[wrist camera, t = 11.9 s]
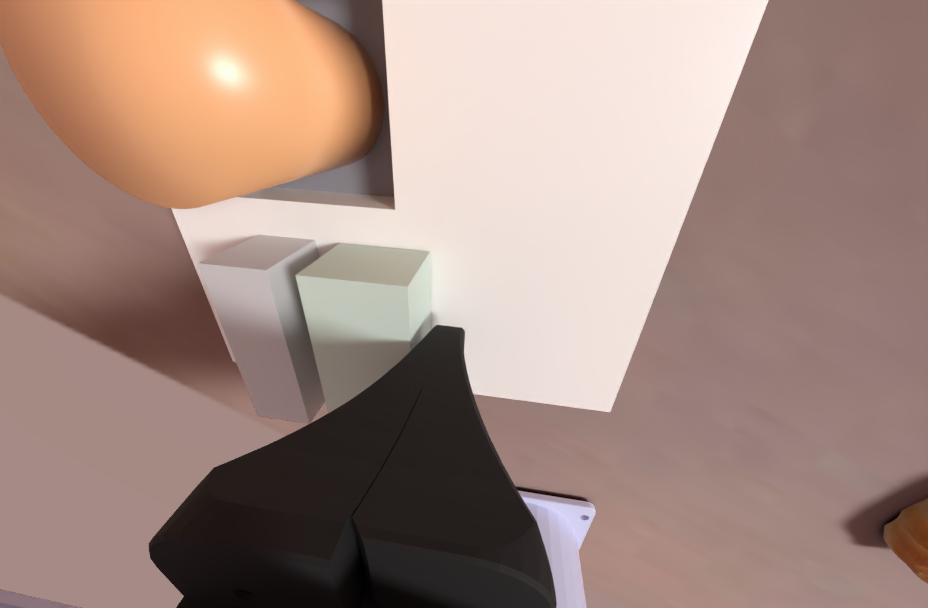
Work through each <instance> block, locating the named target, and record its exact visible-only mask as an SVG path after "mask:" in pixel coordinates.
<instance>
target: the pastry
mask: <svg viewBox="0 0 928 608" xmlns="http://www.w3.org/2000/svg"><path fill="white" fill-rule="evenodd" d="M883 538H884V540H885V542H886V544H887V545H888V546H889V547H890V548H891V549H892V551H893V552H894V553H895V554H896V555H897V556H898V557H899V558H900V559H901V560H902V561H904V562H905V563H906V564H907V565H908V567H909V568H910V569H911V570H912V571H913V572H914V573H915V574H916V575H917V576H918V577H919V578H920V579H922V580H923V581H925V582H926V583H928V498H926V499H924V500H922V501H919V502H917V503H915V504H913V505H911V506H909V507H907V508H905V509H904V510H902V511H901V512H900V515H899V516H898V517H897V518H896V519H895V520H894V521H892V522H890V523H888V524H886V525H885V526H884V535H883Z"/></svg>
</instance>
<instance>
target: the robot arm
mask: <svg viewBox="0 0 928 608" xmlns="http://www.w3.org/2000/svg"><path fill="white" fill-rule="evenodd" d="M464 343H465V330H464V329H463V328H461V327H452V326H444V325H436V326H435V327H433V328H432V329H431V331H430V332H429V333H428V334H427V335H426V336H425V337H424V338H423V339H422V340H421V341H420V342H419V343H418V344H417V345H416V346H415V347H414V348H413V349H412V350H411V351H410V352H409V353H408V354H407V355H406V356H405V357H404V358H403V359H402V360H401V361H400V362H398V363H397V364H396V365H395V366H394V367H393V368H391V369H390V370H389V371H388V372H387V373H385V374H384V375H383V376H382V377H381V378H380V379H378V380H377V381H376V382H374V383H373V384H372V385H371V386H369V387H368V388H366V389H365V390H364V391H362V392H361V393H359V394H358V395H357V396H355V397H354V398H352V399H351V400H349V401H348V402H346V403H345V404H343V405H341V406H340V407H338V408H336V409H335V410H333V411H331V412H330V413H328V414H326V415H325V416H323V417H321V418H320V419H318V420H316V421H314V422H312V423H311V424H309V425H307V426H305V427H303V428H301V429H299V430H297V431H295V432H293V433H291V434H289V435H287V436H285V437H283V438H281V439H279V440H277V441H275V442H273V443H271V444H269V445H267V446H264V447H262V448H260V449H257V450H255V451H253V452H250V453H248V454H246V455H243V456H241V457H239V458H236V459H234V460H232V461H229V462H227V463H225V464H222V465H220V466H217V467H215V468H213V470H212V471H211V472H210V473H209V474H208V475H207V476H206V477H205V478H204V479H203V480H202V481H201V483H200V484H199V485H198V486H197V487H196V488H195V489H194V490H193V491H192V493H191V494H190V495H189V496H188V497H187V499H186V500H185V501H184V502H183V503H182V504H181V506H180V507H179V508H178V509H177V510H176V511H175V512H174V514H173V515H172V516H171V517H170V518H169V520H168V521H167V522H166V523H165V524H164V525H163V527H162V528H161V529H160V530H159V531H158V532H157V534H156V535H155V536H154V537H153V539H152V540H151V541H150V543H149V552H150V558H151V560H152V561H153V562H154V564H155V565H156V566H157V568H159V570H160V571H161V572H162V573H163V574H164V575H165V576H166V577H167V578H168V579H169V581H170V582H171V583H172V584H173V585H174V586H175V587H176V588H177V589H178V590H179V591H180V592H181V593H182V594H183V595H184V597H183V599H182V600H181V602H180V603H179V605H178V606H177V608H586V601H585V594H584V588H583V580H582V573H581V566H580V559H579V552H578V551H579V549H580V546H581V544H582V542H583V540H584V538H585V535H586V533H587V531H588V529H589V527H590V524H591V522H592V520H593V518H594V516H595V507H594V505H593V504H592V503H590V502H586V501H580V500H574V499H568V498H562V497H555V496H549V495H543V494H537V493H530V492H524V491H518V490H517V489H516V487H515V485H514V484H513V482H512V480H511V478H510V476H509V475H508V473H507V471H506V469H505V467H504V466H503V464H502V462H501V460H500V458H499V456H498V454H497V451H496V449H495V447H494V445H493V443H492V441H491V439H490V437H489V435H488V433H487V430H486V428H485V426H484V423H483V421H482V418H481V416H480V413H479V410H478V408H477V405H476V402H475V399H474V395H473V392H472V389H471V385H470V381H469V377H468V373H467V368H466V363H465V357H464ZM0 608H80V607H76V606H72V605H67V604H62V603H58V602H54V601H49V600H45V599H40V598H36V597H32V596H27V595H23V594H18V593H14V592H10V591H5V590H1V589H0Z"/></svg>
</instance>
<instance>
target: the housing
mask: <svg viewBox="0 0 928 608" xmlns="http://www.w3.org/2000/svg"><path fill="white" fill-rule="evenodd" d="M295 1H297V2H299V3H301V4H302V5H304V6H306V7H308V8H310V9H312V10H314V11H316V12H318V13H319V14H321V15H323V16H325V17H327V18H329V19H331V20H333V21H335V22H337V23H338V24H340V25H341V26H343V27H344V28H346V29H347V30H348V31H349V32H350V33H351V34H353V35H354V36H355V37H356V39H357V40H358V41H359V42H360V43H361V44H362V46H363V47H364V48H365V50H366V51H367V53H368V54H369V56H370V58H371V60H372V62H373V64H374V66H375V68H376V71H377V73H378V76H379V79H380V83H381V87H382V92H383V101H384V114H383V122H382V126H381V130H380V133H379V136H378V138H377V140H376V142H375V144H374V146H373V147H372V148H371V150H370V151H369V152H368V153H367V154H366V155H365V156H364V157H363V158H361V159H360V160H359V161H357V162H355V163H353V164H350V165H346V166H343V167H340V168H336V169H333V170H329V171H325V172H322V173H318V174H315V175H311V176H308V177H304V178H301V179H297V180H294V181H290V182H287V183H283V184H280V185H276V186H273V187H269V188H266V189H262V190H259V191H255V192H252V193H248V194H245V195H241V196H238V197H234V198H231V199H227V200H224V201H220V202H217V203H213V204H210V205H206V206H203V207H199V208H192V209H173V208H171V209H172V211H173V214H174V216H175V219H176V221H177V224H178V226H179V229H180V231H181V234H182V236H183V239H184V241H185V244H186V246H187V249H188V251H189V254H190V256H191V259H192V261H193V264H194V266H195V269H196V271H197V274H198V276H199V278H200V281H201V283H202V286H203V288H204V291H205V293H206V296H207V298H208V301H209V303H210V306H211V308H212V311H213V313H214V316H215V318H216V321H217V323H218V326H219V328H220V331H221V333H222V336H223V338H224V341H225V343H226V346H227V348H228V351H229V353H230V356H231V358H232V361H233V362H236V363H237V365H238V368H239V370H240V373H241V375H242V378H243V380H244V383H245V385H246V388H247V391H248V393H249V396H250V398H251V401H252V403H253V406H254V408H255V411H256V413H257V416H260V417H266V418H273V419H280V420H286V421H293V422H300V423H306V424H310V423H311V421H312V420H313V418H314V417H315V415H316V414H317V412H318V411H319V409H320V408H321V406H322V405H323V403H324V402H325V398H324V394H323V390H322V385H321V381H320V377H319V373H318V369H317V364H316V360H315V356H314V352H313V348H312V343H311V339H310V335H309V331H308V326H307V322H306V318H305V314H304V310H303V305H302V301H301V297H300V293H299V289H298V284H297V280H296V276H295V275H296V274H298V273H299V272H300V271H302V270H303V269H305V268H306V267H307V266H309V265H310V264H312V263H313V262H314V261H316V260H317V259H319V258H320V257H321V256H323V255H324V254H326V253H327V252H328V251H330V250H331V249H333V248H334V247H335V246H337V245H338V244H340V243H343V244H354V245H365V246H376V247H386V248H397V249H408V250H419V251H430V293H431V329H432V328H433V327H435V326H436V325H444V326H452V327H461V328H463V329H464V330H465V343H464V357H465V363H466V368H467V373H468V377H469V381H470V385H471V389H472V392H473V394H478V395H486V396H493V397H500V398H508V399H515V400H523V401H530V402H538V403H545V404H553V405H560V406H568V407H575V408H583V409H590V410H598V411H605V412H610V411H611V409H612V406H613V403H614V401H615V398H616V396H617V393H618V390H619V388H620V385H621V383H622V380H623V377H624V375H625V372H626V370H627V367H628V364H629V362H630V359H631V357H632V354H633V351H634V349H635V346H636V344H637V341H638V338H639V336H640V333H641V331H642V328H643V325H644V323H645V320H646V318H647V315H648V312H649V310H650V307H651V305H652V302H653V299H654V297H655V294H656V292H657V289H658V286H659V284H660V281H661V279H662V276H663V273H664V271H665V268H666V266H667V263H668V260H669V258H670V255H671V253H672V250H673V247H674V245H675V242H676V240H677V237H678V234H679V232H680V229H681V227H682V224H683V221H684V219H685V216H686V214H687V211H688V208H689V206H690V203H691V201H692V198H693V195H694V193H695V190H696V188H697V185H698V182H699V180H700V177H701V175H702V172H703V169H704V167H705V164H706V162H707V159H708V156H709V154H710V151H711V149H712V146H713V143H714V141H715V138H716V136H717V133H718V130H719V128H720V125H721V123H722V120H723V117H724V115H725V112H726V110H727V107H728V104H729V102H730V99H731V97H732V94H733V91H734V89H735V86H736V84H737V81H738V78H739V76H740V73H741V71H742V68H743V65H744V63H745V60H746V58H747V55H748V52H749V50H750V47H751V45H752V42H753V39H754V37H755V34H756V32H757V29H758V26H759V24H760V21H761V19H762V16H763V13H764V11H765V8H766V6H767V3H768V0H295Z"/></svg>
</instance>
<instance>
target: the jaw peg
mask: <svg viewBox="0 0 928 608" xmlns="http://www.w3.org/2000/svg"><path fill="white" fill-rule="evenodd" d="M0 43H1V45H2V48H3V51H4V53H5V55H6V57H7V59H8V61H9V63H10V66H11V68H12V70H13V72H14V74H15V75H16V77H17V79H18V81H19V82H20V84H21V86H22V88H23V89H24V91H25V93H26V94H27V96H28V97H29V99H30V100H31V102H32V103H33V105H34V106H35V108H36V109H37V111H38V112H39V113H40V115H41V116H42V117H43V119H44V120H45V121H46V123H47V124H48V125H49V127H50V128H51V129H52V130H53V131H54V132H55V133H56V135H57V136H58V137H59V138H60V139H61V140H62V142H63V143H64V144H65V145H66V146H67V147H68V148H69V149H70V150H71V151H72V152H73V153H74V154H75V155H76V156H77V157H78V158H79V159H81V160H82V161H83V162H84V163H85V164H86V165H87V166H89V167H90V168H91V169H92V170H93V171H95V172H96V173H97V174H99V175H100V176H101V177H103V178H104V179H105V180H107V181H108V182H110V183H111V184H113V185H114V186H116V187H117V188H119V189H121V190H123V191H125V192H126V193H128V194H130V195H132V196H134V197H136V198H139V199H141V200H143V201H146V202H148V203H152V204H155V205H158V206H162V207H168V208H173V209H192V208H199V207H203V206H206V205H210V204H213V203H217V202H220V201H224V200H227V199H231V198H234V197H238V196H241V195H245V194H248V193H252V192H255V191H259V190H262V189H266V188H269V187H273V186H276V185H280V184H283V183H287V182H290V181H294V180H297V179H301V178H304V177H308V176H311V175H315V174H318V173H322V172H325V171H329V170H333V169H336V168H340V167H343V166H346V165H350V164H353V163H355V162H357V161H359V160H360V159H361V158H363V157H364V156H365V155H366V154H367V153H368V152H369V151H370V150H371V148H372V147H373V146H374V144H375V142H376V140H377V138H378V136H379V133H380V130H381V126H382V122H383V114H384V101H383V92H382V87H381V83H380V79H379V76H378V73H377V71H376V68H375V66H374V64H373V62H372V60H371V58H370V56H369V54H368V53H367V51H366V50H365V48H364V47H363V46H362V44H361V43H360V42H359V41H358V40H357V39H356V37H355V36H354V35H353V34H351V33H350V32H349V31H348V30H347V29H346V28H344V27H343V26H341V25H340V24H338V23H337V22H335V21H333V20H331V19H329V18H327V17H325V16H323V15H321V14H319V13H318V12H316V11H314V10H312V9H310V8H308V7H306V6H304V5H302V4H301V3H299V2H297V1H295V0H0Z"/></svg>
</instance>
